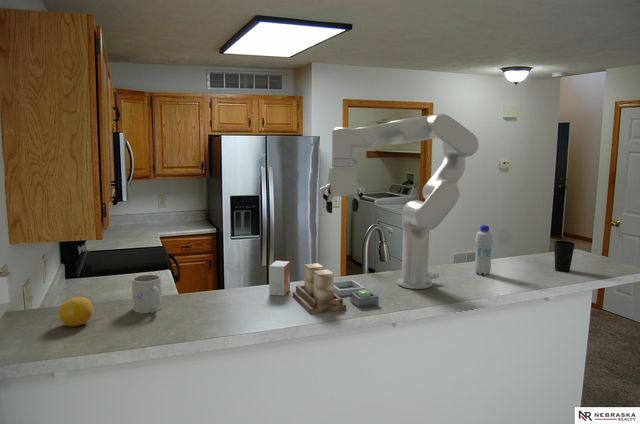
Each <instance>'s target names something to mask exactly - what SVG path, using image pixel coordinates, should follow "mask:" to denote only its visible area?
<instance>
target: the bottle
mask: <svg viewBox="0 0 640 424" xmlns="http://www.w3.org/2000/svg"><path fill="white" fill-rule="evenodd" d="M474 241H475V259H474V272H475V274H476V275H479V276H482V274H483V275H484V276H486V275H489V274H491V269H492V262H491V261H492V260H491V259H492V247H493V242H494V240H493V233H492V232H490V226H489V225H485V224H482V225H481V226H480V230H479V231H478V232H476V235H475V240H474Z"/></svg>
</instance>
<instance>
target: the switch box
mask: <svg viewBox="0 0 640 424" xmlns="http://www.w3.org/2000/svg"><path fill="white" fill-rule="evenodd" d="M369 291H370V290H369ZM349 299H350V300H349V301H350V302H351V303H352V304H354V305H355V306H356V307H357V308H359V309H360V308H368V307H369V308H370V307H376V306H377V307H378V306H379V299H380V298H379V296H378V295H377V294H375V293H374V292H372V291H370V296H369V297H359V296H358V292H351V293H350V295H349Z"/></svg>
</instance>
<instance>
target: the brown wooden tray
mask: <svg viewBox="0 0 640 424" xmlns="http://www.w3.org/2000/svg"><path fill="white" fill-rule="evenodd" d="M293 296H294V297H293ZM292 297H293V298H294V299H295V300H296V301H297V302H298V303H299V304H300V305H301V306H302V307H303V308H304V309H305V310H306V311H307V312H309V314H310V315H312V314H321V313H329V312H337V311H343V310H344V311H345V310H347V304H346V303H344V299H343V298H342V297H341V296H338V295H337V294H336V293H334V295H333V299H332V300H323V301H316V300H315V299H314V292H311V293H307V292H306V291H304V284H302V285H301V284H300V285H296V286H295V291H292Z"/></svg>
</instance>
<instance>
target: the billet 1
mask: <svg viewBox="0 0 640 424" xmlns="http://www.w3.org/2000/svg"><path fill="white" fill-rule="evenodd" d="M303 270H304V278H303V279H304V284H303V285H304V291H306V292H307V293H311V292H314V271H318V270H324V266H323V265H321V264H320V263H318V262H317V263H305V264H304V269H303Z"/></svg>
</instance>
